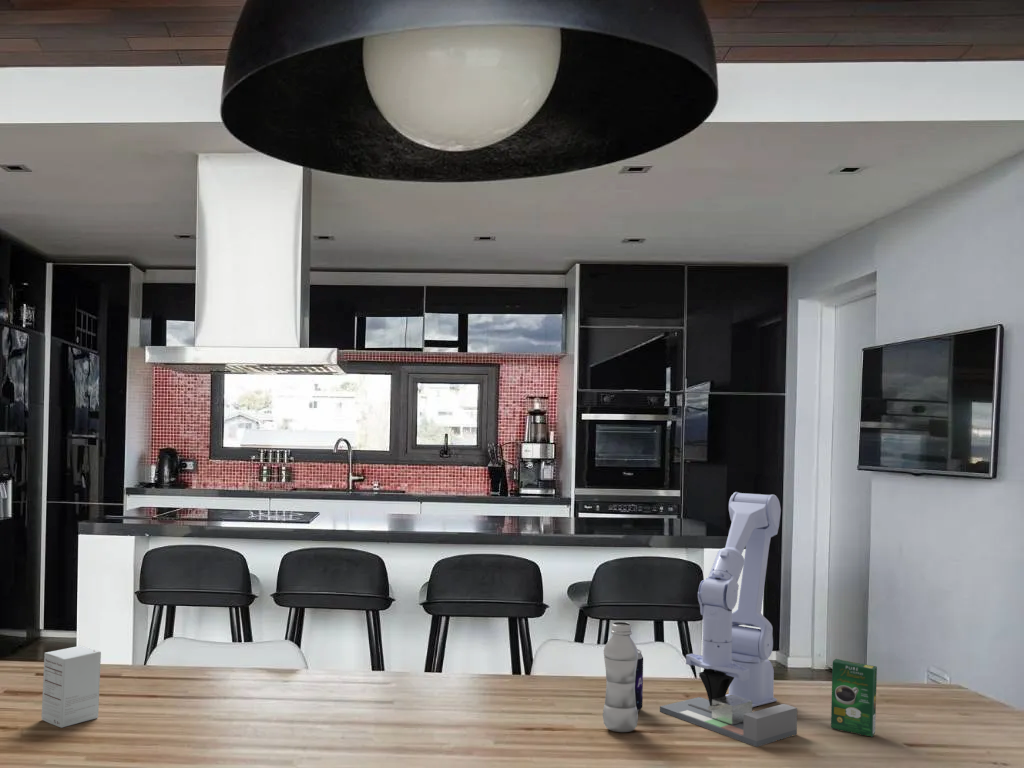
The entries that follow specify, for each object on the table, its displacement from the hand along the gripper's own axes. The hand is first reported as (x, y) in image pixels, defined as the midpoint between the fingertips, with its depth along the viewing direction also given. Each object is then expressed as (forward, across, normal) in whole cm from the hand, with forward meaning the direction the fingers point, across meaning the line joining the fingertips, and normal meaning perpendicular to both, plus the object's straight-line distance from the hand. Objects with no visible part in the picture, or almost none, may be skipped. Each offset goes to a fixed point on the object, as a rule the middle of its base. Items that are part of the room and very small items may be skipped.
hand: (716, 708), depth 175 cm
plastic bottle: (+2, -6, -21) cm, 22 cm away
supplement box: (+2, -66, -105) cm, 124 cm away
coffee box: (+2, +19, +17) cm, 26 cm away
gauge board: (+2, +2, 0) cm, 3 cm away
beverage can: (+2, -14, -11) cm, 18 cm away
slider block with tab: (+1, +4, -2) cm, 4 cm away
